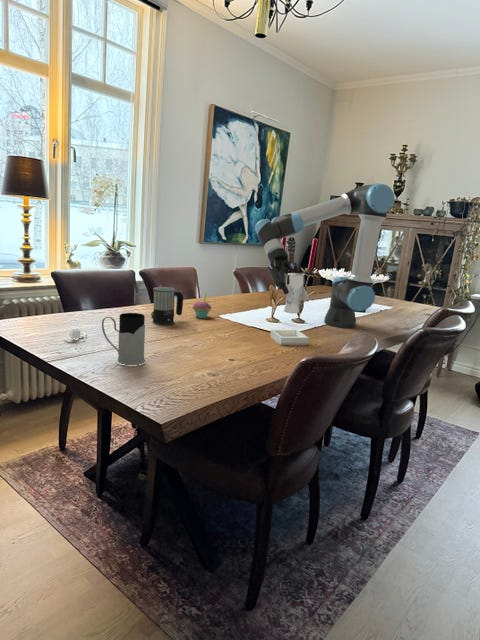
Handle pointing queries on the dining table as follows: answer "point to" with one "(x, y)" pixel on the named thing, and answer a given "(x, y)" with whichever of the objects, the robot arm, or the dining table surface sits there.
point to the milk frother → (166, 305)
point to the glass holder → (130, 338)
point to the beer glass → (294, 291)
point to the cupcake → (202, 308)
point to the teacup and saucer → (76, 334)
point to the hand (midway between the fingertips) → (299, 299)
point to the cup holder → (289, 337)
